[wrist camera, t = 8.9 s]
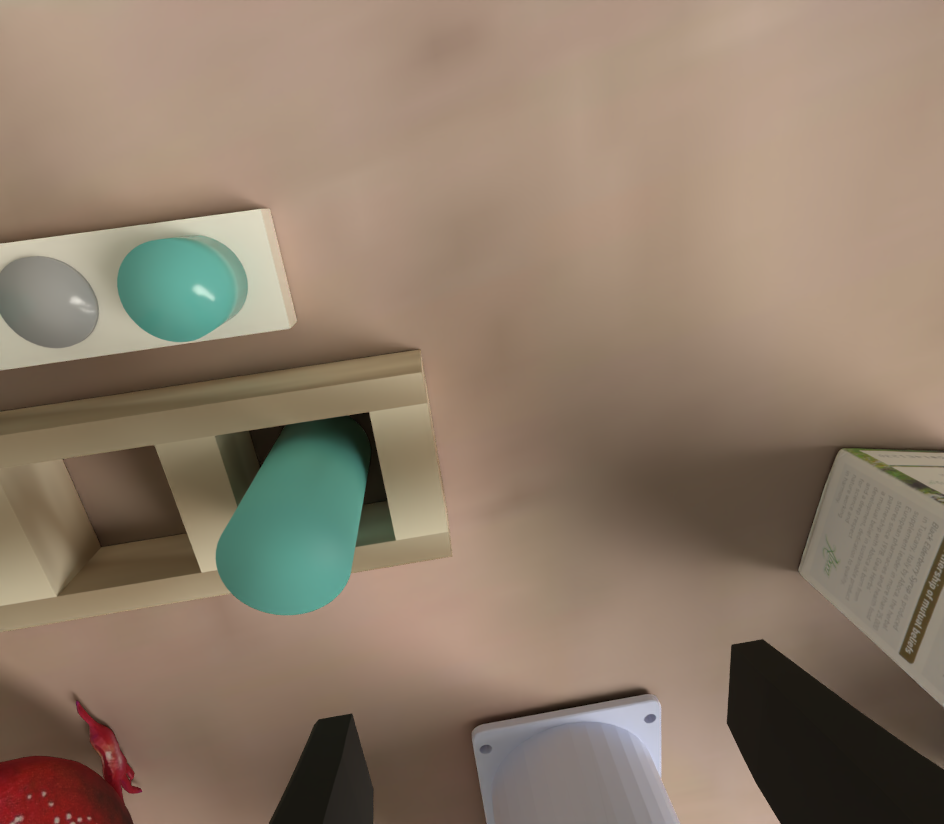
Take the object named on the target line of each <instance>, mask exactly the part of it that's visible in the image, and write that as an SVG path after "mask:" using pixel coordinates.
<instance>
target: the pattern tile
mask: <svg viewBox="0 0 944 824" xmlns="http://www.w3.org/2000/svg"><path fill="white" fill-rule="evenodd" d="M296 322H297V319H296V315H295V310H294V306H293V302H292V298H291V294H290V290H289V286H288V282H287V278H286V273H285V269H284V265H283V261H282V257H281V253H280V249H279V245H278V241H277V237H276V232H275V228H274V224H273V220H272V216H271V212H270V209H256V210H249V211H241V212H234V213H226V214H219V215H211V216H204V217H196V218H189V219H182V220H174V221H167V222H159V223H152V224H144V225H137V226H129V227H122V228H114V229H107V230H99V231H92V232H84V233H77V234H69V235H62V236H54V237H47V238H39V239H32V240H24V241H17V242H10V243H2V244H0V371H1V370H8V369H15V368H21V367H28V366H35V365H42V364H49V363H56V362H63V361H70V360H77V359H84V358H90V357H97V356H104V355H111V354H118V353H125V352H132V351H139V350H146V349H153V348H159V347H166V346H173V345H180V344H187V343H194V342H201V341H208V340H215V339H222V338H228V337H235V336H242V335H249V334H256V333H263V332H270V331H277V330H284V329H290V328H291V327H292V326H293V325H294V324H295V323H296Z"/></svg>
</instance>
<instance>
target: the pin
mask: <svg viewBox="0 0 944 824" xmlns="http://www.w3.org/2000/svg"><path fill="white" fill-rule="evenodd" d="M370 459H371V446H370V442H369V439H368V437H367V434H366V433H365V431H364V430H363V428H362V427H361V426H360V425H359V424H358V423H357V422H356V421H355V420H354V419H352V418H351V417H349V416H348V415H346V416H340V417H333V418H327V419H320V420H314V421H307V422H301V423H294V424H288V425H286V426H285V427H284V429H283V430H282V432H281V434H280V435H279V437H278V439H277V441H276V442H275V444H274V446H273V447H272V449H271V451H270V452H269V454H268V456H267V458H266V459H265V461H264V463H263V464H262V466H261V468H260V470H259V471H258V473H257V475H256V476H255V478H254V480H253V482H252V483H251V485H250V487H249V488H248V490H247V492H246V493H245V495H244V497H243V499H242V500H241V502H240V504H239V505H238V507H237V509H236V511H235V512H234V514H233V516H232V517H231V519H230V521H229V523H228V524H227V526H226V528H225V529H224V531H223V533H222V534H221V536H220V538H219V541H218V544H217V548H216V558H215V559H216V566H217V570H218V573H219V576H220V578H221V580H222V582H223V583H224V585H225V586H226V588H227V589H228V590H229V591H230V592H231V593H232V594H233V595H234V596H235V597H236V598H237V599H239V600H240V601H241V602H243V603H244V604H246V605H248V606H250V607H252V608H254V609H257V610H259V611H262V612H266V613H270V614H276V615H297V614H303V613H308V612H311V611H314V610H317V609H319V608H321V607H323V606H325V605H326V604H328V603H330V602H331V601H332V600H333V599H335V598H336V597H337V596H338V595H339V594H340V593H341V591H342V590H343V589H344V587H345V586H346V584H347V582H348V580H349V577H350V574H351V569H352V563H353V557H354V552H355V546H356V540H357V534H358V528H359V523H360V517H361V511H362V505H363V499H364V494H365V488H366V482H367V476H368V470H369V465H370Z"/></svg>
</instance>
